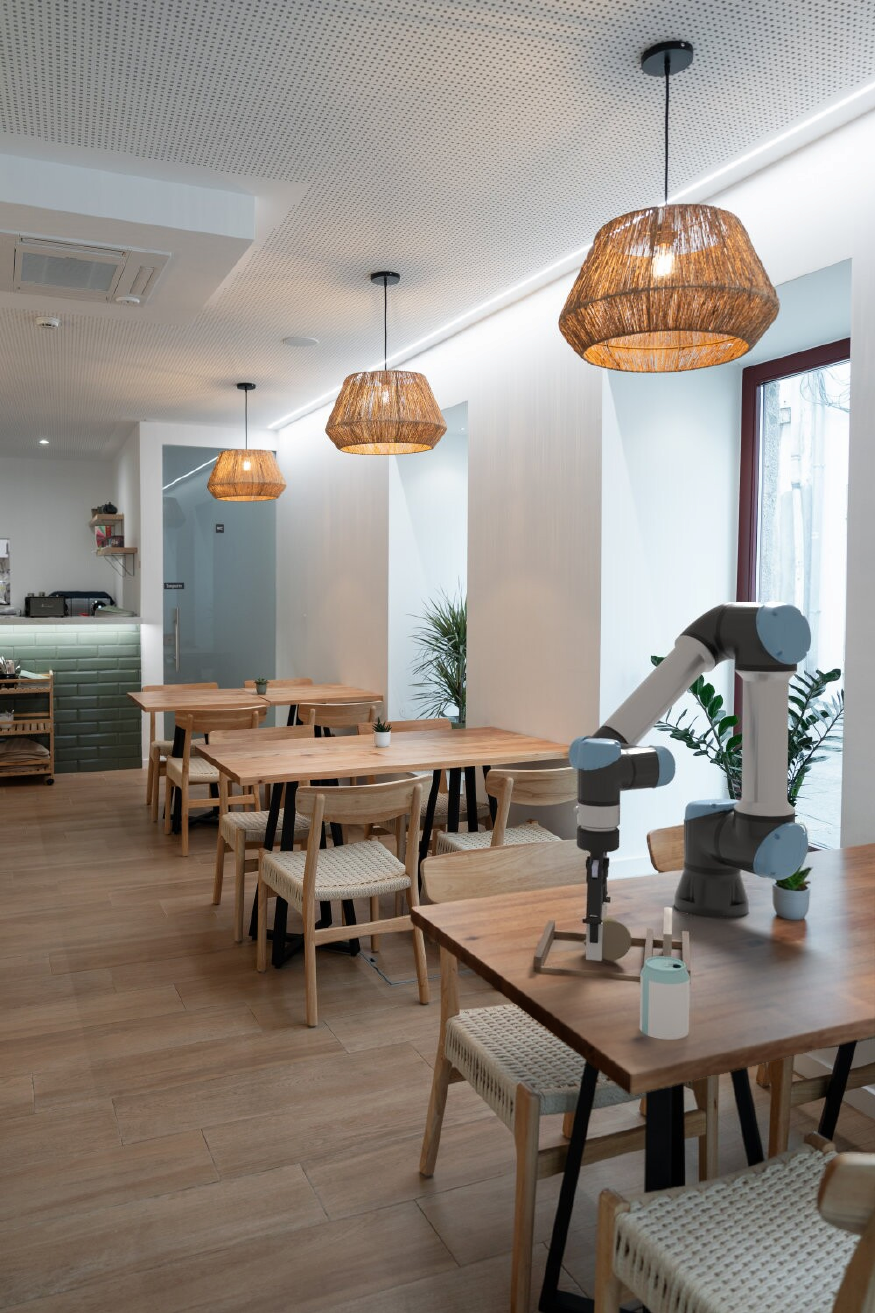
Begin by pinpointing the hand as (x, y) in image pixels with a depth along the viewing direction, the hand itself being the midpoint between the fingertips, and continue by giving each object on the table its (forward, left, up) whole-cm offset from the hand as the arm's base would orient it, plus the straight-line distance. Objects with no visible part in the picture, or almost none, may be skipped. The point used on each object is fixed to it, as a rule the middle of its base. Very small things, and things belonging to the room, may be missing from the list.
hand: (596, 948), depth 177 cm
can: (-12, +30, -3) cm, 33 cm away
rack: (-3, 0, -3) cm, 4 cm away
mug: (-1, -2, -2) cm, 3 cm away
